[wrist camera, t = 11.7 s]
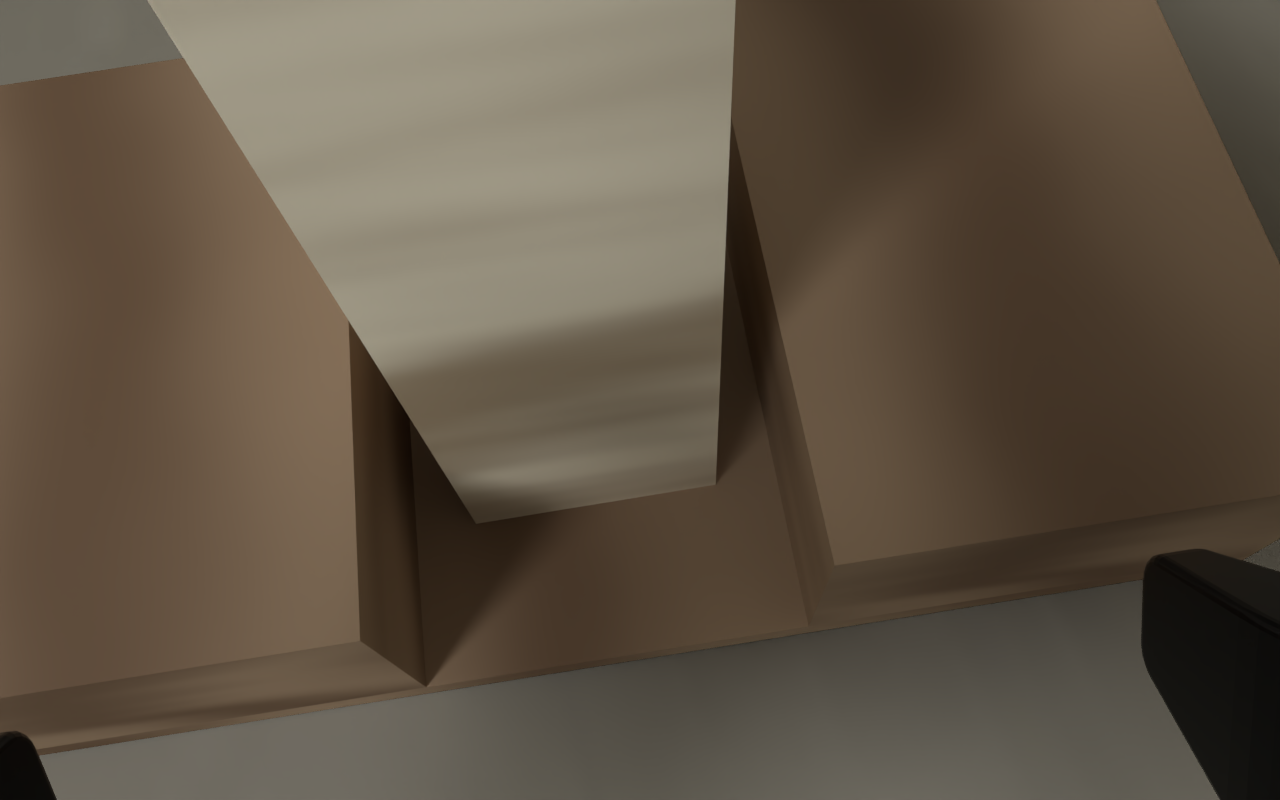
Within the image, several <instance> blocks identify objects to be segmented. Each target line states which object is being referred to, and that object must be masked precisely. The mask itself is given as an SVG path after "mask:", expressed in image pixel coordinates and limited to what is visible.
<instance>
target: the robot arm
mask: <svg viewBox="0 0 1280 800" xmlns="http://www.w3.org/2000/svg"><path fill="white" fill-rule="evenodd" d="M1141 646H1142V654H1143V658H1144V662H1145V665H1146V668H1147V671H1148V673H1149V675H1150V677H1151V679H1152V681H1153V682H1154V684H1155V686H1156V688H1157V689H1158V691H1159V693H1160V695H1161V697H1162V698H1163V700H1164V702H1165V704H1166V705H1167V707H1168V709H1169V711H1170V712H1171V714H1172V716H1173V718H1174V720H1175V721H1176V723H1177V725H1178V727H1179V728H1180V730H1181V732H1182V734H1183V735H1184V737H1185V739H1186V741H1187V743H1188V744H1189V746H1190V748H1191V750H1192V751H1193V753H1194V755H1195V757H1196V758H1197V760H1198V762H1199V764H1200V766H1201V767H1202V769H1203V771H1204V773H1205V774H1206V776H1207V778H1208V780H1209V782H1210V783H1211V785H1212V787H1213V789H1214V790H1215V792H1216V794H1217V796H1218V797H1219V799H1220V800H1280V572H1278V571H1275V570H1272V569H1269V568H1265V567H1262V566H1259V565H1256V564H1252V563H1249V562H1246V561H1243V560H1239V559H1236V558H1233V557H1229V556H1226V555H1223V554H1220V553H1216V552H1213V551H1210V550H1206V549H1189V550H1182V551H1176V552H1170V553H1163V554H1158V555H1155V556H1153V557H1152V558H1151V559H1150V560H1149V561H1148V562H1147V563H1146V566H1145V569H1144V575H1143V600H1142V634H1141ZM0 800H57V799H56V797H55V794H54V792H53V789H52V787H51V784H50V782H49V780H48V777H47V775H46V772H45V770H44V767H43V765H42V762H41V760H40V758H39V755H38V753H37V750H36V748H35V746H34V744H33V742H32V741H31V740H30V738H29V737H28V736H27V735H25V734H23V733H21V732H18V731H7V732H0Z"/></svg>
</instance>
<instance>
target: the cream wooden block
mask: <svg viewBox="0 0 1280 800" xmlns="http://www.w3.org/2000/svg"><path fill="white" fill-rule="evenodd" d="M147 1H148V2H149V4H150V5H151V7H152V9H153V10H154V12H155V13H156V15H157V16H158V18H159V20H160V21H161V23H162V24H163V26H164V28H165V29H166V31H167V32H168V34H169V36H170V37H171V39H172V40H173V42H174V44H175V45H176V47H177V48H178V50H179V52H180V53H181V55H182V56H183V58H184V59H185V61H186V63H187V64H188V66H189V67H190V69H191V71H192V72H193V74H194V75H195V77H196V79H197V80H198V82H199V83H200V85H201V87H202V88H203V90H204V91H205V93H206V94H207V96H208V98H209V99H210V101H211V102H212V104H213V106H214V107H215V109H216V110H217V112H218V114H219V115H220V117H221V118H222V120H223V122H224V123H225V125H226V126H227V128H228V130H229V131H230V133H231V134H232V136H233V137H234V139H235V141H236V142H237V144H238V145H239V147H240V149H241V150H242V152H243V153H244V155H245V157H246V158H247V160H248V161H249V163H250V165H251V166H252V168H253V169H254V171H255V172H256V174H257V176H258V177H259V179H260V180H261V182H262V184H263V185H264V187H265V188H266V190H267V192H268V193H269V195H270V196H271V198H272V200H273V201H274V203H275V204H276V206H277V208H278V209H279V211H280V212H281V214H282V215H283V217H284V219H285V220H286V222H287V223H288V225H289V227H290V228H291V230H292V231H293V233H294V235H295V236H296V238H297V239H298V241H299V243H300V244H301V246H302V247H303V249H304V250H305V252H306V254H307V255H308V257H309V258H310V260H311V262H312V263H313V265H314V266H315V268H316V270H317V271H318V273H319V274H320V276H321V278H322V279H323V281H324V282H325V284H326V286H327V287H328V289H329V290H330V292H331V293H332V295H333V297H334V298H335V300H336V301H337V303H338V305H339V306H340V308H341V309H342V311H343V313H344V314H345V316H346V317H347V319H348V321H349V322H350V324H351V325H352V327H353V328H354V330H355V332H356V333H357V335H358V336H359V338H360V340H361V341H362V343H363V344H364V346H365V348H366V349H367V351H368V352H369V354H370V356H371V357H372V359H373V360H374V362H375V364H376V365H377V367H378V368H379V370H380V371H381V373H382V375H383V376H384V378H385V379H386V381H387V383H388V384H389V386H390V387H391V389H392V391H393V392H394V394H395V395H396V397H397V399H398V400H399V402H400V403H401V405H402V406H403V408H404V410H405V411H406V413H407V414H408V416H409V418H410V419H411V421H412V422H413V424H414V426H415V427H416V429H417V430H418V432H419V434H420V435H421V437H422V438H423V440H424V442H425V443H426V445H427V446H428V448H429V449H430V451H431V453H432V454H433V456H434V457H435V459H436V461H437V462H438V464H439V465H440V467H441V469H442V470H443V472H444V473H445V475H446V477H447V478H448V480H449V481H450V483H451V484H452V486H453V488H454V489H455V491H456V492H457V494H458V496H459V497H460V499H461V500H462V502H463V504H464V505H465V507H466V508H467V510H468V512H469V513H470V515H471V516H472V518H473V520H474V521H475V523H476V524H478V523H484V522H490V521H496V520H502V519H508V518H515V517H521V516H527V515H533V514H539V513H545V512H551V511H557V510H564V509H570V508H576V507H582V506H588V505H594V504H600V503H607V502H613V501H619V500H625V499H631V498H637V497H643V496H649V495H656V494H662V493H668V492H674V491H680V490H686V489H692V488H698V487H705V486H711V485H716V466H717V442H718V417H719V393H720V369H721V344H722V320H723V296H724V271H725V247H726V223H727V198H728V174H729V150H730V125H731V101H732V77H733V52H734V28H735V4H736V0H147Z"/></svg>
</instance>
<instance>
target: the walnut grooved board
mask: <svg viewBox="0 0 1280 800" xmlns="http://www.w3.org/2000/svg"><path fill="white" fill-rule="evenodd" d="M1278 539H1280V263H1279V261H1278V259H1277V257H1276V255H1275V253H1274V250H1273V248H1272V246H1271V244H1270V242H1269V240H1268V238H1267V236H1266V233H1265V231H1264V229H1263V227H1262V225H1261V223H1260V221H1259V219H1258V216H1257V214H1256V212H1255V210H1254V208H1253V206H1252V204H1251V201H1250V199H1249V197H1248V195H1247V193H1246V191H1245V189H1244V187H1243V184H1242V182H1241V180H1240V178H1239V176H1238V174H1237V172H1236V170H1235V167H1234V165H1233V163H1232V161H1231V159H1230V157H1229V155H1228V153H1227V150H1226V148H1225V146H1224V144H1223V142H1222V140H1221V138H1220V136H1219V133H1218V131H1217V129H1216V127H1215V125H1214V123H1213V121H1212V118H1211V116H1210V114H1209V112H1208V110H1207V108H1206V106H1205V104H1204V101H1203V99H1202V97H1201V95H1200V93H1199V91H1198V89H1197V87H1196V84H1195V82H1194V80H1193V78H1192V76H1191V74H1190V72H1189V70H1188V67H1187V65H1186V63H1185V61H1184V59H1183V57H1182V55H1181V53H1180V50H1179V48H1178V46H1177V44H1176V42H1175V40H1174V38H1173V35H1172V33H1171V31H1170V29H1169V27H1168V25H1167V23H1166V21H1165V18H1164V16H1163V14H1162V12H1161V10H1160V8H1159V6H1158V4H1157V1H1156V0H736V4H735V28H734V52H733V77H732V101H731V125H730V150H729V174H728V198H727V223H726V247H725V271H724V296H723V320H722V344H721V369H720V393H719V417H718V442H717V466H716V485H711V486H705V487H698V488H692V489H686V490H680V491H674V492H668V493H662V494H656V495H649V496H643V497H637V498H631V499H625V500H619V501H613V502H607V503H600V504H594V505H588V506H582V507H576V508H570V509H564V510H557V511H551V512H545V513H539V514H533V515H527V516H521V517H515V518H508V519H502V520H496V521H490V522H484V523H478V524H476V523H475V521H474V520H473V518H472V516H471V515H470V513H469V512H468V510H467V508H466V507H465V505H464V504H463V502H462V500H461V499H460V497H459V496H458V494H457V492H456V491H455V489H454V488H453V486H452V484H451V483H450V481H449V480H448V478H447V477H446V475H445V473H444V472H443V470H442V469H441V467H440V465H439V464H438V462H437V461H436V459H435V457H434V456H433V454H432V453H431V451H430V449H429V448H428V446H427V445H426V443H425V442H424V440H423V438H422V437H421V435H420V434H419V432H418V430H417V429H416V427H415V426H414V424H413V422H412V421H411V419H410V418H409V416H408V414H407V413H406V411H405V410H404V408H403V406H402V405H401V403H400V402H399V400H398V399H397V397H396V395H395V394H394V392H393V391H392V389H391V387H390V386H389V384H388V383H387V381H386V379H385V378H384V376H383V375H382V373H381V371H380V370H379V368H378V367H377V365H376V364H375V362H374V360H373V359H372V357H371V356H370V354H369V352H368V351H367V349H366V348H365V346H364V344H363V343H362V341H361V340H360V338H359V336H358V335H357V333H356V332H355V330H354V328H353V327H352V325H351V324H350V322H349V321H348V319H347V317H346V316H345V314H344V313H343V311H342V309H341V308H340V306H339V305H338V303H337V301H336V300H335V298H334V297H333V295H332V293H331V292H330V290H329V289H328V287H327V286H326V284H325V282H324V281H323V279H322V278H321V276H320V274H319V273H318V271H317V270H316V268H315V266H314V265H313V263H312V262H311V260H310V258H309V257H308V255H307V254H306V252H305V250H304V249H303V247H302V246H301V244H300V243H299V241H298V239H297V238H296V236H295V235H294V233H293V231H292V230H291V228H290V227H289V225H288V223H287V222H286V220H285V219H284V217H283V215H282V214H281V212H280V211H279V209H278V208H277V206H276V204H275V203H274V201H273V200H272V198H271V196H270V195H269V193H268V192H267V190H266V188H265V187H264V185H263V184H262V182H261V180H260V179H259V177H258V176H257V174H256V172H255V171H254V169H253V168H252V166H251V165H250V163H249V161H248V160H247V158H246V157H245V155H244V153H243V152H242V150H241V149H240V147H239V145H238V144H237V142H236V141H235V139H234V137H233V136H232V134H231V133H230V131H229V130H228V128H227V126H226V125H225V123H224V122H223V120H222V118H221V117H220V115H219V114H218V112H217V110H216V109H215V107H214V106H213V104H212V102H211V101H210V99H209V98H208V96H207V94H206V93H205V91H204V90H203V88H202V87H201V85H200V83H199V82H198V80H197V79H196V77H195V75H194V74H193V72H192V71H191V69H190V67H189V66H188V64H187V63H186V61H185V59H184V58H181V59H174V60H168V61H161V62H154V63H148V64H141V65H134V66H128V67H121V68H114V69H108V70H101V71H94V72H88V73H81V74H74V75H68V76H61V77H54V78H48V79H41V80H35V81H28V82H21V83H15V84H8V85H1V86H0V732H7V731H18V732H21V733H23V734H25V735H27V736H28V737H29V738H30V740H31V741H32V742H33V744H34V746H35V748H36V750H37V753H38V755H45V754H51V753H57V752H64V751H70V750H76V749H82V748H89V747H95V746H101V745H108V744H114V743H120V742H126V741H133V740H139V739H145V738H151V737H158V736H164V735H170V734H177V733H183V732H189V731H195V730H202V729H208V728H214V727H220V726H227V725H233V724H239V723H245V722H252V721H258V720H264V719H271V718H277V717H283V716H289V715H296V714H302V713H308V712H314V711H321V710H327V709H333V708H340V707H346V706H352V705H358V704H365V703H371V702H377V701H383V700H390V699H396V698H402V697H409V696H415V695H421V694H427V693H434V692H440V691H446V690H452V689H459V688H465V687H471V686H477V685H484V684H490V683H496V682H503V681H509V680H515V679H521V678H528V677H534V676H540V675H546V674H553V673H559V672H565V671H572V670H578V669H584V668H590V667H597V666H603V665H609V664H615V663H622V662H628V661H634V660H640V659H647V658H653V657H659V656H666V655H672V654H678V653H684V652H691V651H697V650H703V649H709V648H716V647H722V646H728V645H735V644H741V643H747V642H753V641H760V640H766V639H772V638H778V637H785V636H791V635H797V634H804V633H810V632H816V631H822V630H829V629H835V628H841V627H847V626H854V625H860V624H866V623H872V622H879V621H885V620H891V619H898V618H904V617H910V616H916V615H923V614H929V613H935V612H941V611H948V610H954V609H960V608H967V607H973V606H979V605H985V604H992V603H998V602H1004V601H1010V600H1017V599H1023V598H1029V597H1036V596H1042V595H1048V594H1054V593H1061V592H1067V591H1073V590H1079V589H1086V588H1092V587H1098V586H1104V585H1111V584H1117V583H1123V582H1130V581H1136V580H1142V579H1143V575H1144V569H1145V566H1146V563H1147V562H1148V561H1149V560H1150V559H1151V558H1152V557H1153V556H1155V555H1158V554H1163V553H1170V552H1176V551H1182V550H1189V549H1206V550H1210V551H1213V552H1216V553H1220V554H1223V555H1226V556H1229V557H1233V558H1236V559H1239V560H1244V559H1246V558H1247V557H1249V556H1251V555H1252V554H1254V553H1256V552H1258V551H1259V550H1261V549H1263V548H1264V547H1266V546H1268V545H1269V544H1271V543H1273V542H1275V541H1276V540H1278Z"/></svg>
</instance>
